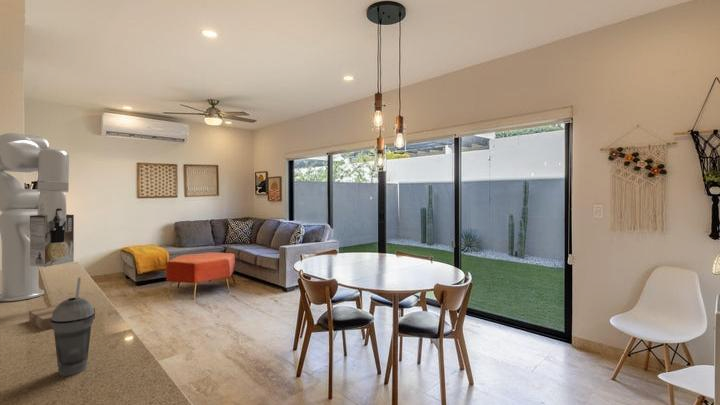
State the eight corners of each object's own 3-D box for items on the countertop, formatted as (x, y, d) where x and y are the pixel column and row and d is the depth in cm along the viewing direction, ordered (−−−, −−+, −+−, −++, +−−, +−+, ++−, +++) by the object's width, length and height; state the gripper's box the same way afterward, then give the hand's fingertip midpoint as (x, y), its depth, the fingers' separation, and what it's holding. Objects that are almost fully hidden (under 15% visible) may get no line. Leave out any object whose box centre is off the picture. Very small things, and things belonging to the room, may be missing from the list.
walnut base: (29, 321, 102) (29, 311, 102) (78, 310, 112) (79, 301, 112) (43, 330, 96) (43, 319, 96) (94, 318, 106) (94, 308, 106)
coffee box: (59, 260, 119) (59, 213, 119) (74, 261, 118) (75, 214, 117) (28, 265, 110) (29, 215, 110) (44, 267, 109) (45, 216, 108)
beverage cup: (67, 362, 78) (68, 273, 78) (101, 362, 78) (102, 273, 78) (40, 379, 71) (41, 281, 70) (78, 378, 71) (79, 281, 71)
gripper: (29, 186, 115) (28, 239, 115) (48, 187, 105) (47, 245, 106) (58, 187, 121) (57, 237, 122) (78, 188, 112) (77, 243, 112)
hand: (52, 240), depth 114 cm, fingers closed on coffee box, 8 cm apart
